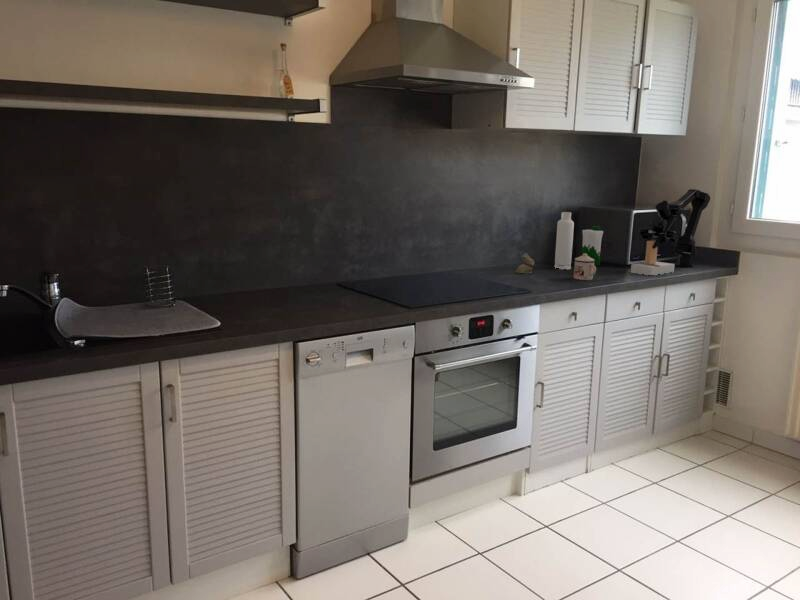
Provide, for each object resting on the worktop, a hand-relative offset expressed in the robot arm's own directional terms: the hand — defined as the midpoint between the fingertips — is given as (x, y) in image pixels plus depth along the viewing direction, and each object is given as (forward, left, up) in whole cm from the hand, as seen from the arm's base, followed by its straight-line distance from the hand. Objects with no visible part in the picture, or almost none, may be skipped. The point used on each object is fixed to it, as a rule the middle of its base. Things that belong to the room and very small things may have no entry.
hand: (650, 247), depth 318 cm
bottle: (+40, -10, -12) cm, 43 cm away
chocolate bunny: (+63, +6, -12) cm, 64 cm away
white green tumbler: (+22, -22, -12) cm, 33 cm away
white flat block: (-2, 0, -12) cm, 12 cm away
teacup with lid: (+38, +20, -12) cm, 45 cm away
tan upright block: (-1, -1, -8) cm, 8 cm away
